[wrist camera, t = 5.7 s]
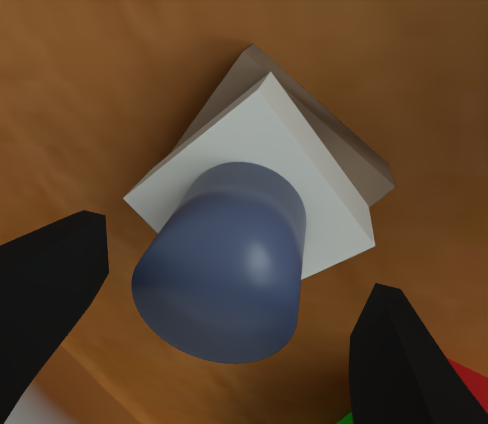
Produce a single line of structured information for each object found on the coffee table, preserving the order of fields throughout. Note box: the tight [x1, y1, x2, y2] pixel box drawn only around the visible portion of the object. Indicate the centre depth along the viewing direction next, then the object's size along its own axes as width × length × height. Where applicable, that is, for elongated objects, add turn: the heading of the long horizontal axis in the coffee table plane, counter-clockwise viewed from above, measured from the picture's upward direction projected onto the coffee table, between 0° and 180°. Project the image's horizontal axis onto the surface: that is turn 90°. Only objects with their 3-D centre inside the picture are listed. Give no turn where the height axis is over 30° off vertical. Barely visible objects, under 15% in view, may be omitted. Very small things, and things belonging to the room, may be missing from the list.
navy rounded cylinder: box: [132, 162, 306, 364], centre depth 10 cm, size 4×4×4 cm
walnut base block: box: [171, 44, 396, 208], centre depth 15 cm, size 7×7×2 cm
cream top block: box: [123, 72, 375, 280], centre depth 13 cm, size 6×6×2 cm
